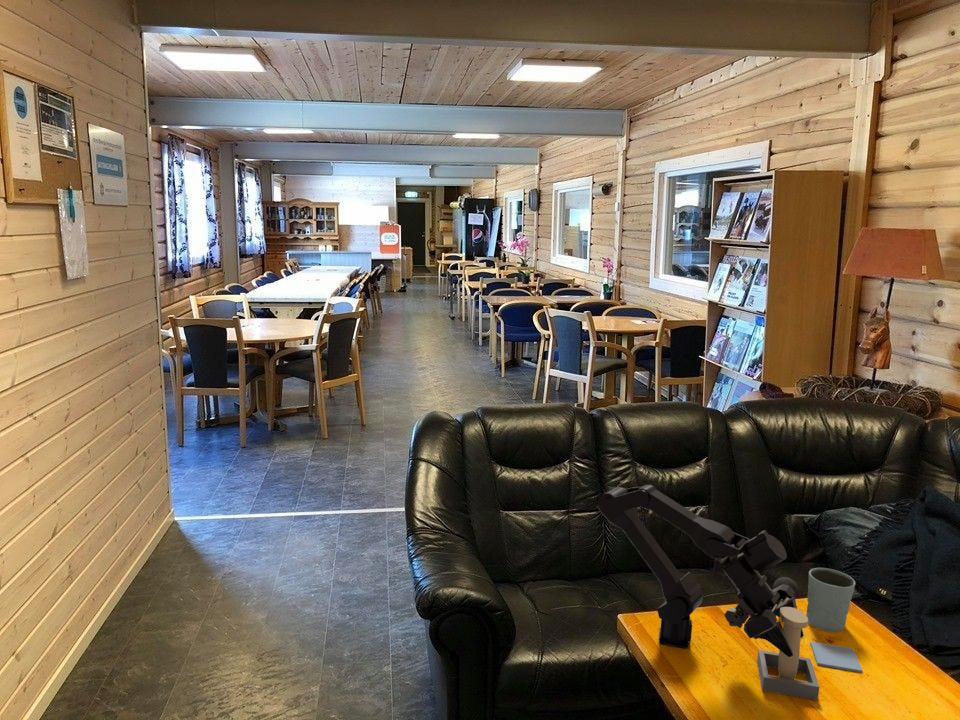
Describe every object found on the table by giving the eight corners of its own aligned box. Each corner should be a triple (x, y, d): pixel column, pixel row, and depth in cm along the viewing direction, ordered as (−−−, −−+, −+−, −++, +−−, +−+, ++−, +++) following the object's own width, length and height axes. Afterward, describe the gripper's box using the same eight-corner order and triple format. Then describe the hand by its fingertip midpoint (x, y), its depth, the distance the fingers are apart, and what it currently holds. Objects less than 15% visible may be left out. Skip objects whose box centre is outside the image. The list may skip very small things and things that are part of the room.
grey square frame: (762, 690, 149) (763, 677, 148) (757, 662, 159) (758, 649, 158) (817, 700, 146) (819, 687, 146) (808, 671, 156) (810, 658, 156)
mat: (817, 664, 159) (817, 662, 159) (810, 643, 167) (810, 641, 167) (862, 672, 156) (862, 670, 156) (852, 650, 165) (853, 648, 165)
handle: (782, 690, 149) (790, 622, 147) (767, 671, 155) (775, 606, 153) (805, 689, 149) (813, 622, 147) (789, 671, 156) (797, 606, 153)
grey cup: (795, 612, 181) (800, 567, 179) (833, 611, 182) (839, 567, 180) (818, 634, 171) (824, 587, 169) (858, 633, 172) (864, 586, 170)
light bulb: (796, 623, 176) (801, 584, 174) (772, 620, 177) (776, 581, 175) (792, 611, 181) (796, 574, 180) (768, 608, 183) (772, 571, 181)
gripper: (731, 581, 166) (776, 642, 162) (704, 613, 152) (753, 682, 147) (770, 559, 161) (818, 622, 156) (746, 590, 146) (798, 660, 141)
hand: (796, 646), depth 150 cm, fingers open, 9 cm apart
